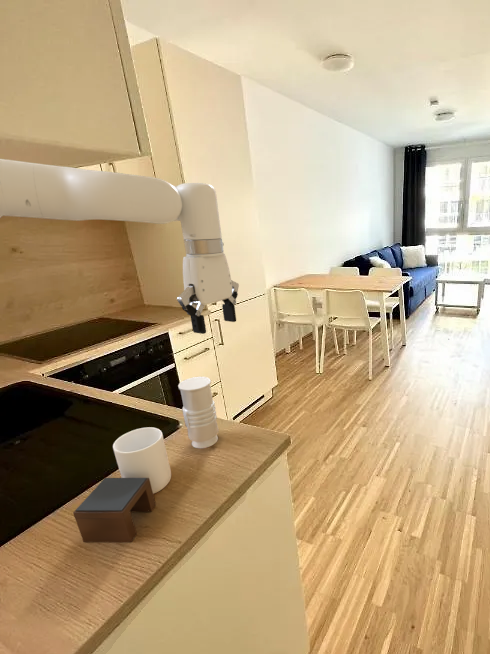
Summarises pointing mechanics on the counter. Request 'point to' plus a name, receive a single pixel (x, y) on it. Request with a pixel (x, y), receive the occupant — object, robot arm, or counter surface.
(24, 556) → the counter surface
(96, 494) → the shelf
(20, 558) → the counter surface
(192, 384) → the white ribbed cylinder
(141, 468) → the mug
